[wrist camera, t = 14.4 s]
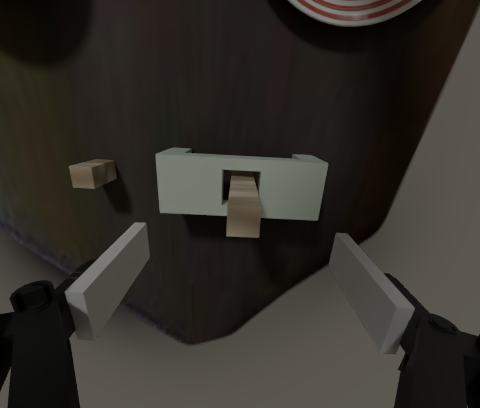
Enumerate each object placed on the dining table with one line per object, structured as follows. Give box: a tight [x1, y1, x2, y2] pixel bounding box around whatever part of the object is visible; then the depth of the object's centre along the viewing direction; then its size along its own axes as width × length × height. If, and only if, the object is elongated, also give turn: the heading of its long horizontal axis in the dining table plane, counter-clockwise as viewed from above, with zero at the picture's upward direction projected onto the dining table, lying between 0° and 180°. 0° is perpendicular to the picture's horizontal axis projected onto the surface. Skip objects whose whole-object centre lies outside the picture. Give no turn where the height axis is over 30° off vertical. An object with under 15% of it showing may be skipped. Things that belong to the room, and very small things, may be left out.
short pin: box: [69, 159, 117, 189], centre depth 34 cm, size 3×3×6 cm
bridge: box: [156, 148, 328, 221], centre depth 34 cm, size 8×22×8 cm, turn 87°
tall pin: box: [226, 170, 262, 238], centre depth 29 cm, size 3×3×18 cm
